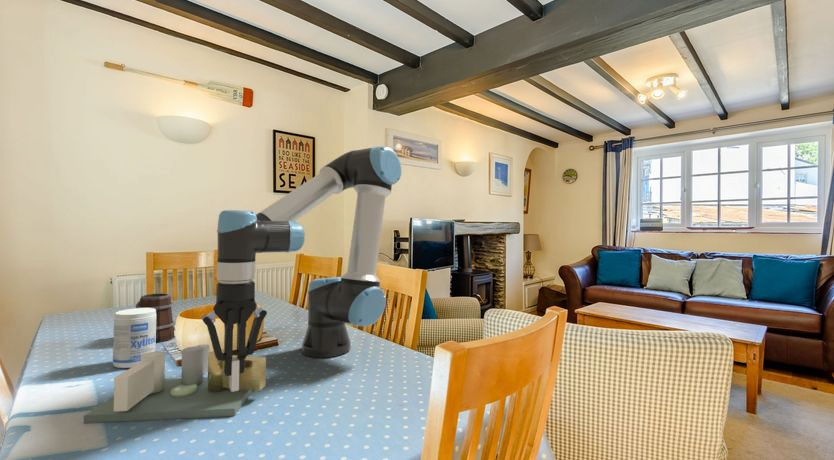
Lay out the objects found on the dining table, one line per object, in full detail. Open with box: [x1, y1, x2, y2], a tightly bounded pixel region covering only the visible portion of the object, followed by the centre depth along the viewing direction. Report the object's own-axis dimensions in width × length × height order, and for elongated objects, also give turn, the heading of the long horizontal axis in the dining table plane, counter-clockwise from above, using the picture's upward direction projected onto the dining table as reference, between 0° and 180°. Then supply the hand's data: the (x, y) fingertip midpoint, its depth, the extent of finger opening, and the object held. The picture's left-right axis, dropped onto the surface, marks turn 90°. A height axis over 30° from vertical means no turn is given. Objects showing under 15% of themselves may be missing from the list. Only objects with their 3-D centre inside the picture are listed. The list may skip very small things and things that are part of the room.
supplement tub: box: [112, 307, 157, 369], centre depth 103 cm, size 10×10×15 cm
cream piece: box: [113, 350, 166, 411], centre depth 78 cm, size 4×13×8 cm, turn 8°
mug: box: [135, 293, 176, 344], centre depth 125 cm, size 16×12×15 cm
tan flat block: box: [207, 349, 267, 392], centre depth 83 cm, size 4×13×8 cm, turn 82°
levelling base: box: [83, 344, 254, 424], centre depth 83 cm, size 28×19×10 cm
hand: (233, 388), depth 80 cm, fingers closed
